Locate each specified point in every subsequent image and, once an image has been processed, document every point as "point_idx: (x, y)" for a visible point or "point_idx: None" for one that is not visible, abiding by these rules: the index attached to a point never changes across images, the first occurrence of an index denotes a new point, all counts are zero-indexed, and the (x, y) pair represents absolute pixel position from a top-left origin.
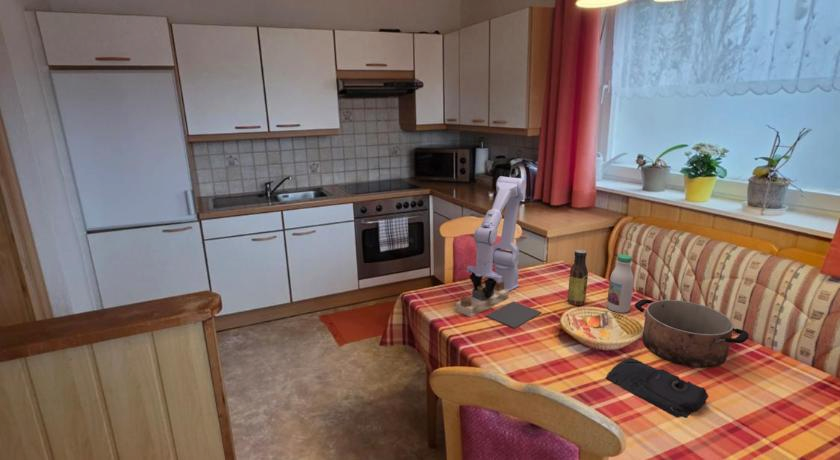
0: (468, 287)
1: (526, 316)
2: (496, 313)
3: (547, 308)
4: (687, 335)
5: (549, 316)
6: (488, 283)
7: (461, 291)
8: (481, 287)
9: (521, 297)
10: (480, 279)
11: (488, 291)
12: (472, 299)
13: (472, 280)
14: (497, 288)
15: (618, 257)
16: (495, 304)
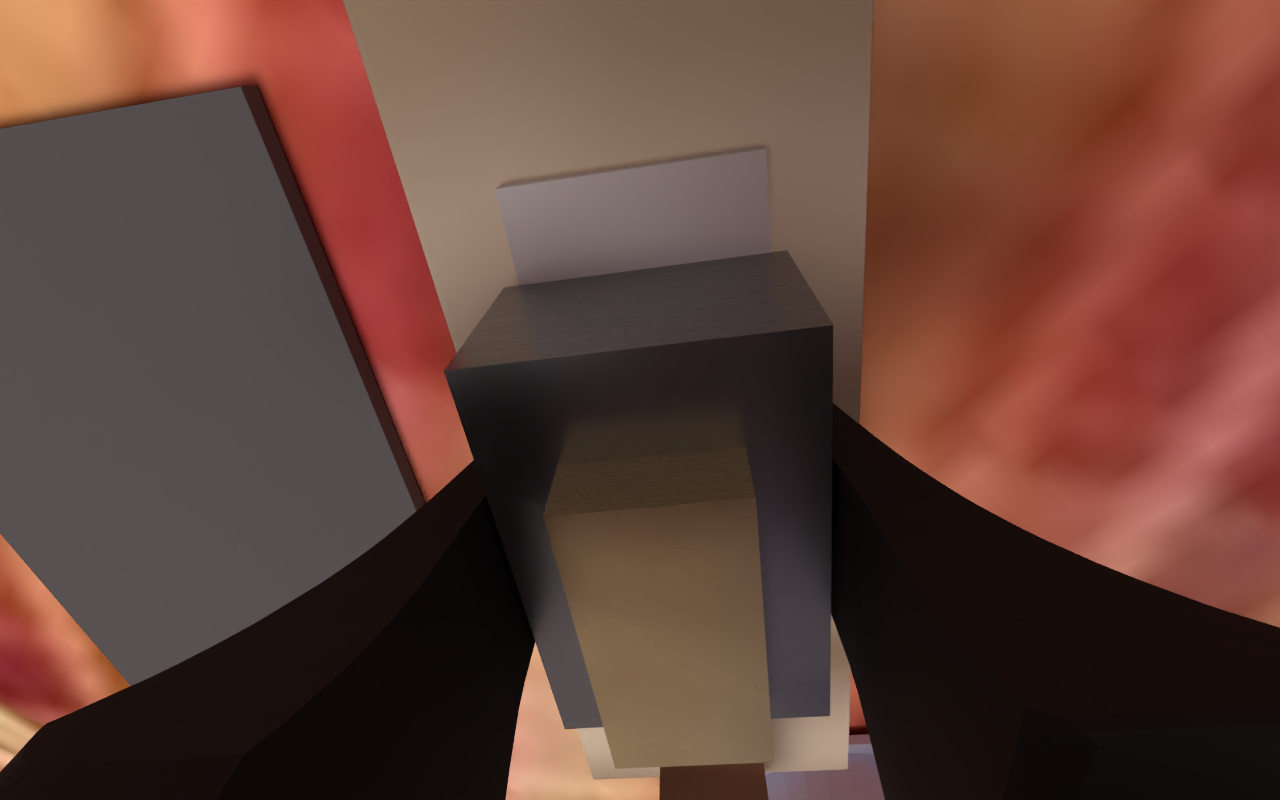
0: (1206, 573)
1: (56, 526)
2: (251, 294)
3: None
4: None
5: (60, 676)
6: (16, 759)
7: (1240, 422)
8: (613, 531)
9: (543, 760)
10: (897, 790)
11: (399, 530)
12: (687, 161)
13: (1066, 591)
14: None
15: None
16: None
